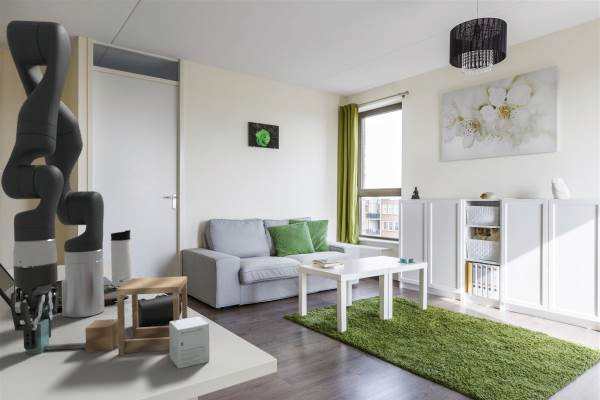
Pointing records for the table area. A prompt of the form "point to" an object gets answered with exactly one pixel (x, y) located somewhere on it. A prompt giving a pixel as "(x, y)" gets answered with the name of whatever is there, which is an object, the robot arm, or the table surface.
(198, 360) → the product box
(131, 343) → the shelf lane
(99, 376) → the table surface
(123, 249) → the travel mug
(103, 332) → the corded block
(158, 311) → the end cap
